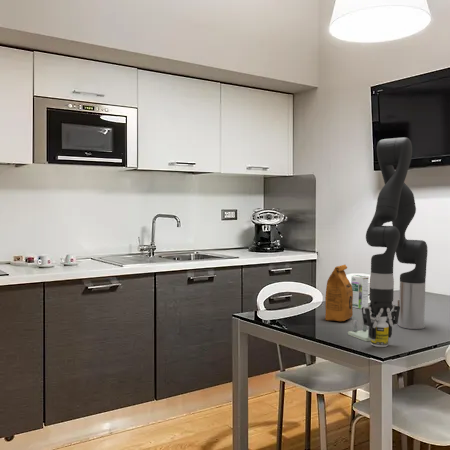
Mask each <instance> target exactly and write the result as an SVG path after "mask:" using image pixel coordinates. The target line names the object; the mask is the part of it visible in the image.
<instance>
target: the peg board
mask: <svg viewBox="0 0 450 450" xmlns="http://www.w3.org/2000/svg"><path fill="white" fill-rule="evenodd" d="M352 324H353V327H352V331H351V330H350V331H347V335H348V336H351V337H354V338H356V339H359V340H361V341H363V342H371V338H370V337H369V326H367V325H364V322H363V321H362V327H361V328H362V329H360V330H358V319H357V320H356V319H353V323H352Z"/></svg>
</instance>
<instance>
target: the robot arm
mask: <svg viewBox="0 0 450 450" xmlns="http://www.w3.org/2000/svg"><path fill="white" fill-rule="evenodd" d="M376 156H377V161H378V165H379V167H380V171H381V175H382V178H383V182H384V185H383V186H382V188H381V190H380V191H379V193H378V196H377V198H376V199H377V200H376V207H375V212H374V214H373V217H372V219H371V221H370V223H369V225H368V227H367V230H366V233H365V240H366V241H365V242H366V243H367V244H368V246H369V247H373V248H386V249H385V251H384V252H383V253H376V254H373V255H372V256H371V259H370V277H369V293H368V300H369V301H370V303H369V304H368V307H366V308H365V307H362V309H361V313H362V314H361V315H362V323H363V322H364V325H367V327H368V326H369V337H370V338H371V339H376V328H375V327H376V325H377V322H378V321H379V319H380V317H385V316H387V321H386V322H387V323H388V325H389V331H388V339H389V338H390V339H391V337H392V335H393V326H395V325H398V326H399V327H401V328H404V329H409V330H421V329H422V330H423V329H424V328H425V323H426V322H425V321H426V320H425V318H426V317H425V314H426V306H425V305H426V280H427V279H426V277H427V263H428V262H427V261H428V243H427V242H426V241H425V240H423V239H422V240H421V239H420V240H419V239H407V238H406V231H407V229H408V228H409V227H408V226H410V224H411V222H412V221H413V220H414V218H415V215H416V212H417V208H416V200H415V196H414V193H413V191H412V190H411V188H410V187H409V186H408V185H407V184H406V183H405V181H406V178H407V175H408V171H409V168H410V166H411V162H412V156H413V144H412V140H410V138H408V137H393V138H384V139H383V138H382V139H380V140H379V141H377V145H376ZM394 166H396V168H394ZM390 222H391V224H392V225H385V224H386V223H390ZM395 256H396V260H397V261H398V262H399V263H400V264H407V265H415V266H414V268H413V269H412V270H409V271H406V272H402V273H400V274H399V299H398V300H397V305H396V304H394V305H393V302H394V294H395V293H394V289H395V288H394V285H395V283H394V282H395V281H394V280H395V279H394V260H395ZM374 317H376V318H374Z"/></svg>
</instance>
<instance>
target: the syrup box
mask: <svg viewBox="0 0 450 450" xmlns="http://www.w3.org/2000/svg"><path fill="white" fill-rule="evenodd" d="M350 281H351V282H350V284H351V286H352V290H353V302H352V308H354V309H359V310H362V307H365V308H366V307H369V282H370V277H369V276H366V275H359V274H354V275H351V280H350Z"/></svg>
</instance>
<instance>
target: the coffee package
mask: <svg viewBox="0 0 450 450" xmlns="http://www.w3.org/2000/svg"><path fill="white" fill-rule="evenodd" d="M347 269H348V266H347V265H346V264H343V265H338V266H335V267H334V269H333V271H332V272H331V273H330V275H329V277H328V279H327V281H326V289H325V297H324V298H325V299H324V300H325V318H324V320H325V321H330V322H333V321H334V322H345V321H346V320H347V321H348V320H349V319H352V317H353V315H354V313H353V307H352V302H353V290H352V286H351V282H350V280H349V278H348V277H347V274H346V272H345V270H347Z"/></svg>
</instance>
